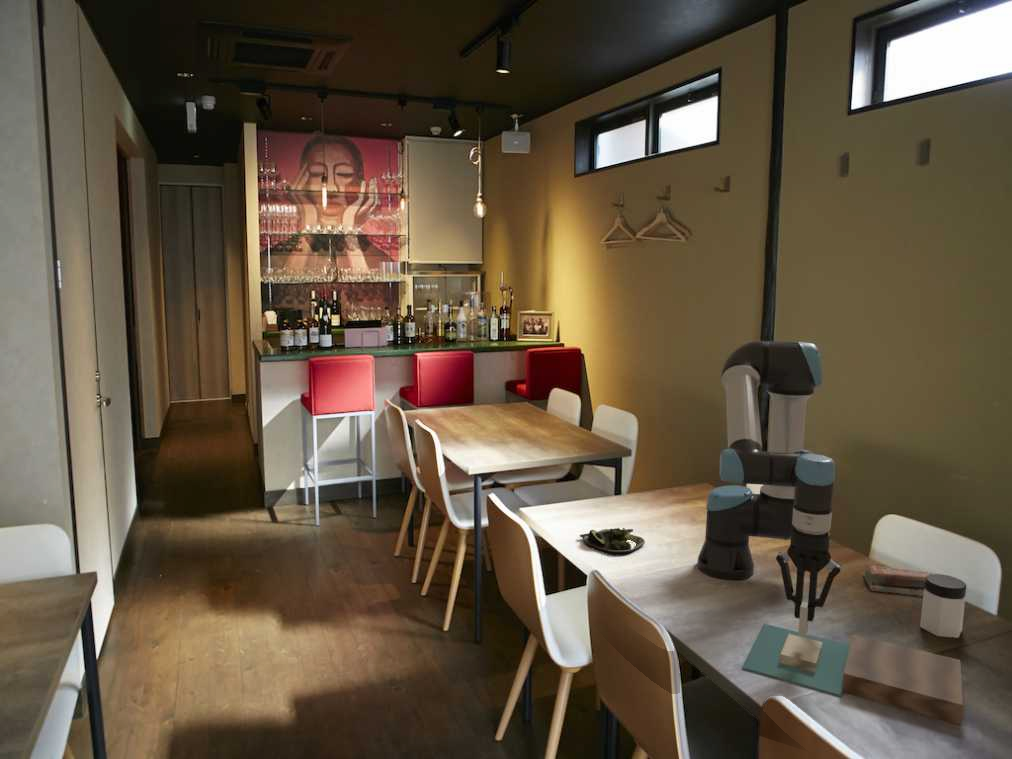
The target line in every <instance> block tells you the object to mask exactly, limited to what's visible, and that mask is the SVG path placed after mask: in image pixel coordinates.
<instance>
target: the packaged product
mask: <svg viewBox="0 0 1012 759" xmlns="http://www.w3.org/2000/svg"><path fill="white" fill-rule="evenodd" d="M930 574H933V573H932V572H927V571H919V570H913V569H912V570H911V569H904V568H901V569H900V568H895V567H886V566H878V565H868V567H867V569H866V570H865V571H864V572H863V573H862V575H863V576H862V577H863V578H864V580H865V582H866V584H867V585H868V587H869V589H870V590H872V592H879V593H880V592H881V593H888V592H891V593H890V594H896V593H899V594H898V595H904V594H906V595H907V596H913V595H916V596H915V597H922V596H923V593H924V589H925V580H926V576H928V575H930ZM906 595H905V596H906ZM917 595H918V596H917Z"/></svg>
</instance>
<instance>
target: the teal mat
mask: <svg viewBox="0 0 1012 759" xmlns="http://www.w3.org/2000/svg"><path fill="white" fill-rule="evenodd" d="M788 634H791V635H795V636H800V637H804V638H808V639H812V640H816V641H820V642H823V643H822V652H821V655H820V659H819V662H818V665H817V669H816V672H812V671H809V670H805V669H801V668H797V667H794V666H790V665H786V664H783V663H780V655H781V652H782V649H783V647H784V644H785V642H786V639H787V637H788ZM849 648H850V644H847V643H844V642H839V641H836V640H832V639H828V638H824V637H819V636H816V635H813V634H808V633H807V634H806V637H805V636H801V635H798V631H796V630H791V629H789V628H788V629H787V628H783V627H780V626H776V625H775V626H774V625H771V624H767V623H763V624H762V627H761V628H760V630H759V632H758V634H757V637H756V639H755V640H754V642H753V644H752V647H751V649H750V651H749V653H748V654H747V656H746V658H745V660H744V662H743V664H742V667H741V669H742V670H746V671H748V672H752V673H756V674H759V675H763V676H766V677H770V678H774V679H777V680H779V681H780V680H781V681H784V682H787V683H791V684H794V685H798V686H802V687H804V688H808V689H813V690H815V691H819V692H822V693H826V694H829V695H834V696H837V697H842V693H843V692H842V687H843V675H844V670H845V665H846V661H847V657H848V653H849Z"/></svg>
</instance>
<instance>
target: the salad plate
mask: <svg viewBox="0 0 1012 759" xmlns="http://www.w3.org/2000/svg"><path fill="white" fill-rule="evenodd" d="M633 532H634V529H632V528H628V529H626V528H624V527H623V528H622V529H620V527H617V528H616V527H615V528H607V529H605V528H603V529H601V530H598V531H597V530H595V529H591V530H589V532H588V533H584V534H579V538H581V539H583V542H584V544H585V546H587V547H588V548H590V549H592V548H593V549H592V550H594V549H595V550H594V551H597V550H598V551H597V552H599V551H601V552H600V553H602V552H604V553H603V554H605V553H607V554H606V555H610V554H612V556H624V554H625V555H627V554H628V553H629V554H631V553H634V551H636V550H638V549H640V548H642V546H644V545H645V543H646V541H645V539H644V538H643V537H641V536H638V535H634V534H631V533H633ZM627 540H631V541H633V542H635V543H636V546H635V545H634V547H633V549H632V544H630V542H626V541H627ZM633 542H632V543H633Z"/></svg>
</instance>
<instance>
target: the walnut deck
mask: <svg viewBox="0 0 1012 759" xmlns="http://www.w3.org/2000/svg"><path fill="white" fill-rule="evenodd" d="M849 645H850V648H849V653H848V657H847V661H846V665H845V670H844V675H843V687H842V693H845V694H849V695H852V696H855V697H859V698H864V699H866V700H870V701H874V702H876V703H877V702H878V703H881V704H884V705H887V706H892V707H896V708H899V709H902V710H906V711H910V712H912V713H913V712H914V713H917V714H920V715H924V716H928V717H932V718H934V719H938V720H941V721H945V722H949V723H952V724H956V725H961V724H962V716H963V708H964V702H963V687H962V686H963V685H962V671H961V669H962V667H961V659H956V658H953V657H949V656H944V655H940V654H936V653H933V652H928V651H924V650H920V649H915V648H911V647H907V646H903V645H900V644H899V645H898V644H895V643H892V642H887V641H883V640H877V639H873V638H870V637H865V636H861V635H857V634H852V636H851V641H850V644H849ZM961 726H962V725H961Z"/></svg>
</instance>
